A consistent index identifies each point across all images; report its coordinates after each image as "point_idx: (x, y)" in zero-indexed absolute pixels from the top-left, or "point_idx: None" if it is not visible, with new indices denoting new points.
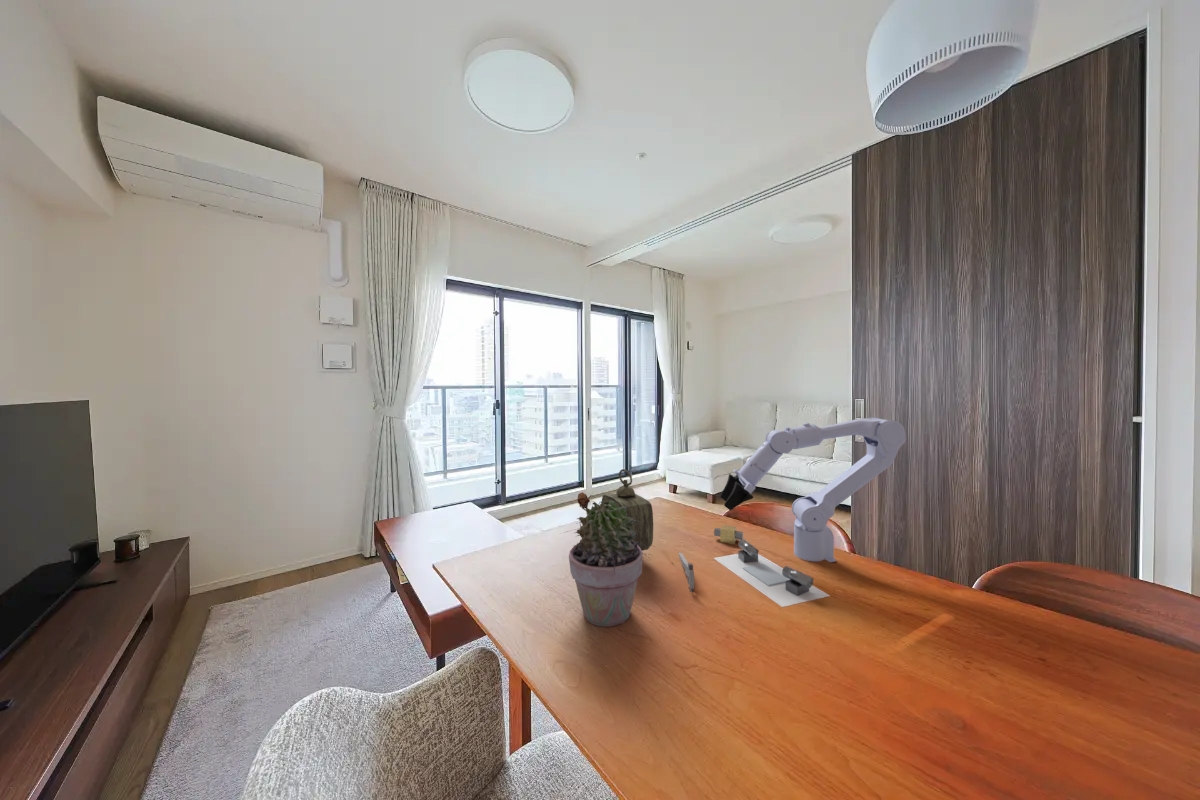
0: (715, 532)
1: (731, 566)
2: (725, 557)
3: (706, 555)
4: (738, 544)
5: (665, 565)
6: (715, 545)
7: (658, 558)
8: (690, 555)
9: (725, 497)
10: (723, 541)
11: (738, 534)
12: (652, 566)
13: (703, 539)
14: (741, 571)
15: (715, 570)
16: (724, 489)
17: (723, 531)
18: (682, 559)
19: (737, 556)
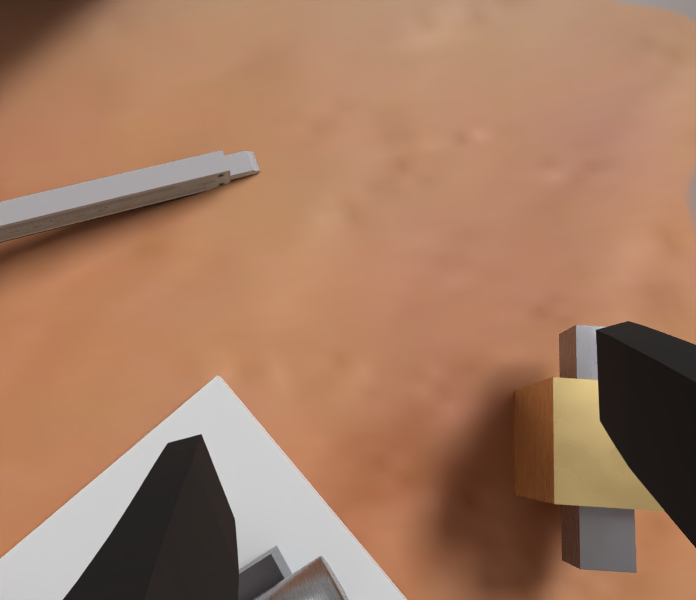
0: (569, 339)
1: (120, 510)
2: (252, 455)
3: (306, 322)
4: (320, 556)
5: (81, 119)
6: (500, 357)
7: (163, 62)
8: (270, 227)
9: (623, 411)
10: (522, 411)
11: (577, 533)
12: (47, 57)
13: (573, 263)
14: (60, 584)
15: (98, 408)
16: (692, 382)
17: (547, 406)
18: (37, 195)
19: (299, 537)
